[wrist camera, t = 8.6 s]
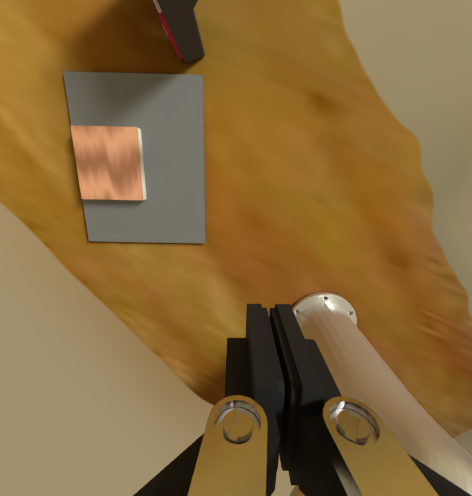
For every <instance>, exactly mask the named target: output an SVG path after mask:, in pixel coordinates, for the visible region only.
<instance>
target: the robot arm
mask: <svg viewBox="0 0 472 496" xmlns="http://www.w3.org/2000/svg"><path fill="white" fill-rule="evenodd" d="M356 324H357V318H356V314H355V311H354V309H353V308H352V306H351V305H350V304H349V302H348V301H347V300H345V299H344V298H343V297H341V296H339V295H337V294H334V293H329V292H319V293H314V294H310V295H308V296H306V297H304V298H302V299H301V300H299V301H298V302H297V303H296V304H295V305H294V306H293V307H291V305H290V304H276V305H275V308H270V316H268V312H267V308H262V306H261V304H247V316H246V338H227V358H226V381H225V398H224V399H222V400H220V401H219V402H217V404H216V405H215V406H214V407H213V408H212V411H211V413H210V415H209V418H208V421H207V425H206V429H205V433H204V434H203V435H202V436H200V437H199V438H198V439H197V440H196V441H195V442H194V443H193V444H191V445H190V446H189V447H188V448H187V449H186V450H185V451H184V452H182V453H181V454H180V455H179V456H178V457H177V458H176V459H174V460H173V461H172V462H171V463H170V464H169V465H168V466H166V467H165V468H164V469H163V470H162V471H161V472H160V473H158V474H157V475H156V476H155V477H154V478H153V479H152V480H151V481H149V482H148V483H147V484H146V485H145V486H144V487H143V488H141V489H140V490H139V491H138V492H137V493H136V494H135V495H133V496H271V494H272V493H273V492H274V490H275V482H276V472H277V468H278V459H279V454H280V461H281V467H282V469H283V470H284V471H289V476H290V482H291V485H296V486H295V487H294V488H293V490H292V492H291V493H290V496H472V457H471V456H470V455H469V454H468V453H467V452H466V451H465V450H464V449H463V448H462V447H461V446H460V445H459V444H458V443H457V442H455V440H453V439H452V438H451V437H450V436H449V435H448V434H447V433H446V432H445V431H444V430H443V429H442V428H441V427H440V426H439V425H438V424H437V423H436V422H435V421H434V420H433V419H432V418H431V417H430V416H429V414H428V413H427V412H426V411H425V410H424V409H423V408H422V407H421V406H420V404H419V403H418V402H417V401H416V400H415V399H414V397H413V396H412V395H411V394H410V393H409V391H408V390H407V389H406V388H405V387H404V385H403V384H402V383H401V382H400V380H399V379H398V378H397V377H396V375H395V374H394V373H393V372H392V370H391V369H390V368H389V367H388V365H387V364H386V363H385V362H384V360H383V359H382V358H381V357H380V355H379V354H378V353H377V352H376V350H375V349H374V348H373V347H372V345H371V344H370V343H369V342H368V340H367V339H366V338H365V337H364V335H363V334H362V333H361V331H360V330H359V329H358V328H357V326H356Z"/></svg>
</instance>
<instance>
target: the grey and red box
mask: <svg viewBox="0 0 472 496" xmlns="http://www.w3.org/2000/svg"><path fill="white" fill-rule="evenodd" d="M153 2H154V5H155V8H156V11H157V13H158V16H159V18H160V21H161V23H162V25H163V28H164V30H165V31H166V34H167V36H168V37H169V39H170V41H171V43H172V45H173V47H174V50H175V52H176V54H177V56H178V58H179V60H181V59H183V60H184V62H185V63H189V62H191V61H194V60H196V59H198V58H201V57H203V56H205V53H204V49H203V45H202V41H201V37H200V33H199V29H198V25H197V21H196V17H195V13H194V7H195V5H196V3H197V0H153Z"/></svg>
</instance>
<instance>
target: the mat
mask: <svg viewBox="0 0 472 496" xmlns="http://www.w3.org/2000/svg"><path fill="white" fill-rule="evenodd" d="M63 75H64V82H65V89H66V95H67V102H68V108H69V115H70V121H71V125H77V126H119V127H137V128H140V129H141V137H142V150H143V162H144V175H145V187H146V199H145V200H101V199H82V200H83V207H84V213H85V220H86V226H87V233H88V239H89V241H102V242H156V243H205V242H206V241H205V172H204V103H203V75H189V74H151V73H112V72H74V71H63Z"/></svg>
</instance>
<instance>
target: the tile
mask: <svg viewBox="0 0 472 496" xmlns="http://www.w3.org/2000/svg"><path fill="white" fill-rule="evenodd" d="M70 126H71V132H72V139H73V146H74V152H75V159H76V165H77V172H78V178H79V185H80V191H81V198H82V199H101V200H145V199H146V187H145V175H144V162H143V150H142V137H141V129H140V128H137V127H119V126H77V125H70Z"/></svg>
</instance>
